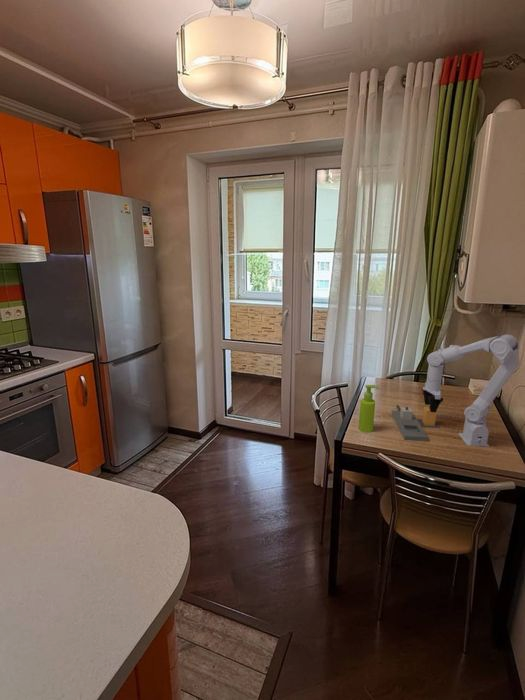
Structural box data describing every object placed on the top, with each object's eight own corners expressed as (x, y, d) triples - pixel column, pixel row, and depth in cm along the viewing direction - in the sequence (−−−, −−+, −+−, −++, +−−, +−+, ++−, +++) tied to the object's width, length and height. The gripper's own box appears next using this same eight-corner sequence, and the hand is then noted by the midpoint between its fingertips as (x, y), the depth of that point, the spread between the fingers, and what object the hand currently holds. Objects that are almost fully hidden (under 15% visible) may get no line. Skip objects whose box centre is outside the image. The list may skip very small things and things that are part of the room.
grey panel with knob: (427, 441, 148) (429, 426, 146) (404, 440, 149) (406, 424, 147) (407, 408, 178) (408, 394, 176) (387, 407, 179) (389, 393, 177)
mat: (440, 428, 158) (441, 428, 158) (421, 427, 159) (421, 427, 159) (434, 420, 166) (434, 419, 166) (416, 419, 167) (416, 418, 166)
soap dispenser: (375, 433, 154) (379, 388, 149) (358, 431, 156) (362, 387, 150) (374, 426, 160) (378, 383, 154) (358, 425, 161) (361, 382, 156)
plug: (434, 425, 160) (436, 408, 158) (424, 425, 160) (427, 408, 158) (431, 421, 164) (433, 404, 162) (422, 421, 164) (424, 404, 162)
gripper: (419, 372, 164) (415, 400, 168) (429, 384, 150) (425, 415, 154) (436, 373, 163) (432, 401, 167) (447, 385, 149) (443, 415, 153)
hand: (430, 408), depth 160 cm, fingers open, 7 cm apart
